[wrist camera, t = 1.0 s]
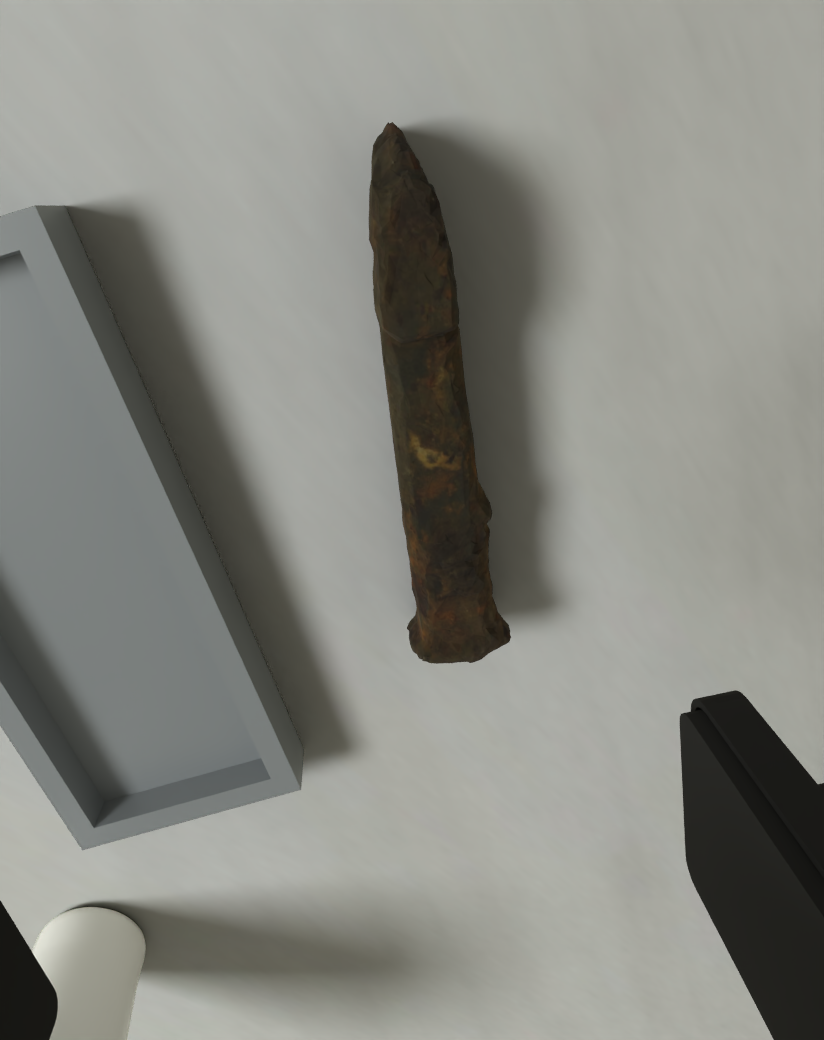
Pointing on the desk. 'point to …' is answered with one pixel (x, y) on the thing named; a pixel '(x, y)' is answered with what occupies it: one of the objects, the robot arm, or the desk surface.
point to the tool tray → (113, 576)
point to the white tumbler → (92, 971)
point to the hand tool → (430, 413)
